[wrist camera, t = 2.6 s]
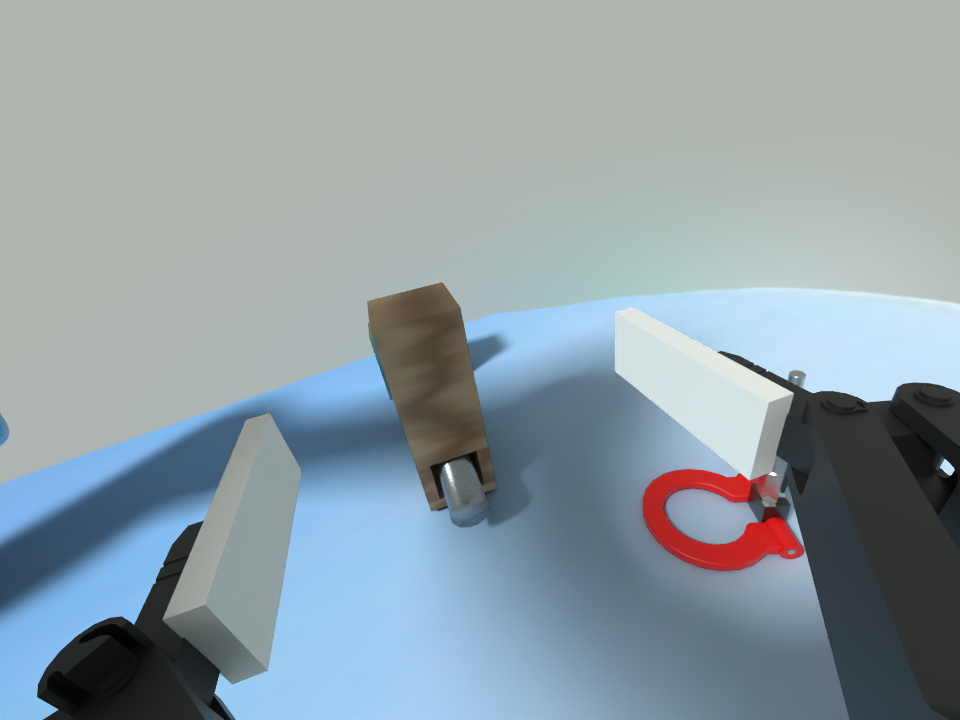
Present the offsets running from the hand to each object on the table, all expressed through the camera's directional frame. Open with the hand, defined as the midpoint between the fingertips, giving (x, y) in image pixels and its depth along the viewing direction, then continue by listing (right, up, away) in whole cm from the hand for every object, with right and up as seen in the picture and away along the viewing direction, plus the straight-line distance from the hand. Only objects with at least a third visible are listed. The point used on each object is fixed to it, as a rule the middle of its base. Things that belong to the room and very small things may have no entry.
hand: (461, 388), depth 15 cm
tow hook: (+18, -11, +15) cm, 26 cm away
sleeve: (-1, -10, +22) cm, 25 cm away
